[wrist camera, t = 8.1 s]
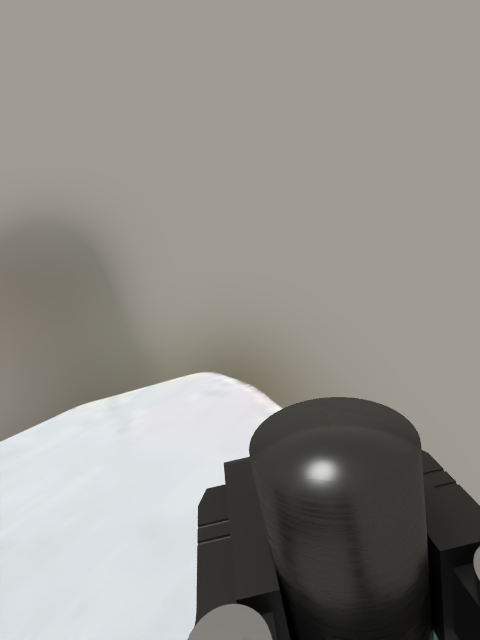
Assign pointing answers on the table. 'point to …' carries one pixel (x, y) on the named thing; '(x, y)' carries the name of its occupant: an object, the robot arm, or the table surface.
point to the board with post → (345, 519)
